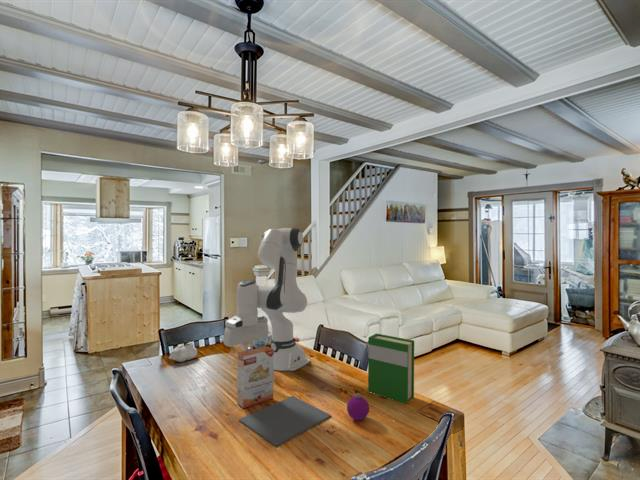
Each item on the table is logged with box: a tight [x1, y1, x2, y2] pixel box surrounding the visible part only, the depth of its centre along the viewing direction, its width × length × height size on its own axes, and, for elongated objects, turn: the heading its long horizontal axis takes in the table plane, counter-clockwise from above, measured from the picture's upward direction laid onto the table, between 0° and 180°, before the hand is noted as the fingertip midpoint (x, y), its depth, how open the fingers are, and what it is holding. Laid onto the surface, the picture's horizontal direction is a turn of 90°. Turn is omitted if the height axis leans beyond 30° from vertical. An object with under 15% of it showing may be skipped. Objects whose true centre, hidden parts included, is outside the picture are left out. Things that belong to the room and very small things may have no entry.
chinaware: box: [252, 330, 272, 349], centre depth 210 cm, size 15×15×8 cm
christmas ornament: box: [346, 393, 370, 421], centre depth 128 cm, size 8×8×10 cm
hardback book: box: [367, 333, 415, 405], centre depth 147 cm, size 18×7×24 cm, turn 54°
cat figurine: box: [168, 342, 198, 363], centre depth 186 cm, size 10×8×15 cm
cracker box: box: [236, 345, 275, 409], centre depth 141 cm, size 14×6×21 cm, turn 130°
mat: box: [238, 395, 332, 448], centre depth 127 cm, size 26×22×1 cm
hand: (247, 352), depth 145 cm, fingers closed
